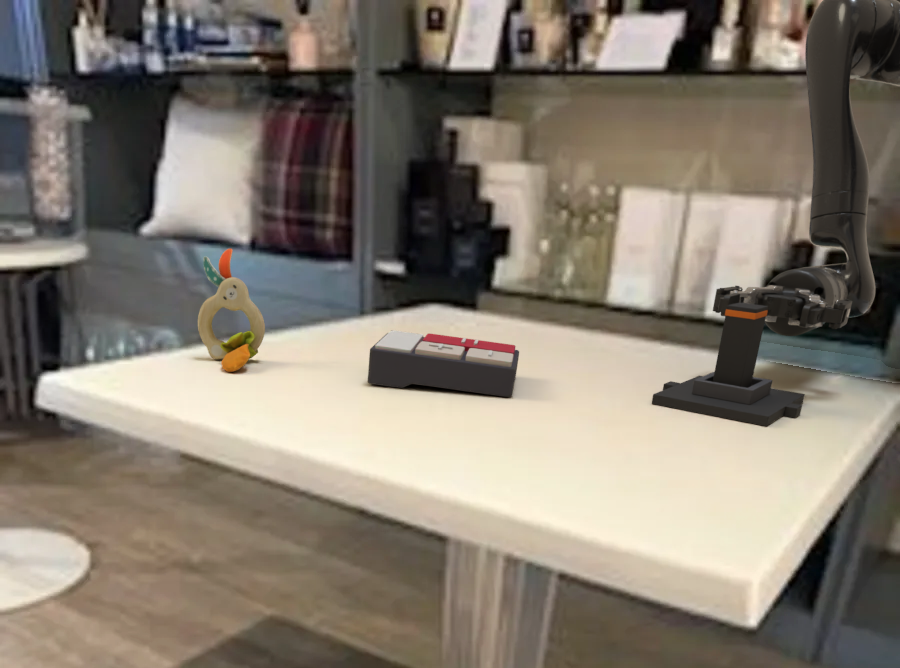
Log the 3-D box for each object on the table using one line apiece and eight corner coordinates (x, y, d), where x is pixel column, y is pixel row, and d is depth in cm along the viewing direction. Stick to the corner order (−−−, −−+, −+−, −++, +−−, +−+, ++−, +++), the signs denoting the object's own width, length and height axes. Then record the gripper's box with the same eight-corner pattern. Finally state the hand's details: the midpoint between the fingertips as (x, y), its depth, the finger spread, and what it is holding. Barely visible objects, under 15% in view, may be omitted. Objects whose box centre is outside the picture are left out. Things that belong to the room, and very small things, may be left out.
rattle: (175, 366, 92) (166, 250, 87) (212, 353, 100) (205, 245, 95) (240, 374, 91) (235, 256, 86) (273, 360, 98) (270, 251, 93)
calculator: (516, 361, 87) (369, 340, 88) (510, 403, 89) (366, 383, 90) (520, 343, 97) (388, 324, 98) (515, 381, 99) (385, 363, 100)
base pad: (687, 382, 102) (691, 360, 101) (814, 405, 95) (819, 382, 94) (640, 401, 91) (644, 377, 90) (779, 429, 85) (785, 403, 83)
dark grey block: (722, 388, 95) (739, 302, 91) (750, 393, 94) (768, 306, 90) (709, 394, 92) (726, 305, 88) (738, 399, 91) (757, 309, 87)
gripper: (750, 261, 108) (706, 267, 96) (872, 274, 101) (842, 282, 89) (737, 324, 111) (693, 337, 99) (854, 341, 104) (823, 357, 92)
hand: (763, 311), depth 94 cm, fingers open, 8 cm apart
